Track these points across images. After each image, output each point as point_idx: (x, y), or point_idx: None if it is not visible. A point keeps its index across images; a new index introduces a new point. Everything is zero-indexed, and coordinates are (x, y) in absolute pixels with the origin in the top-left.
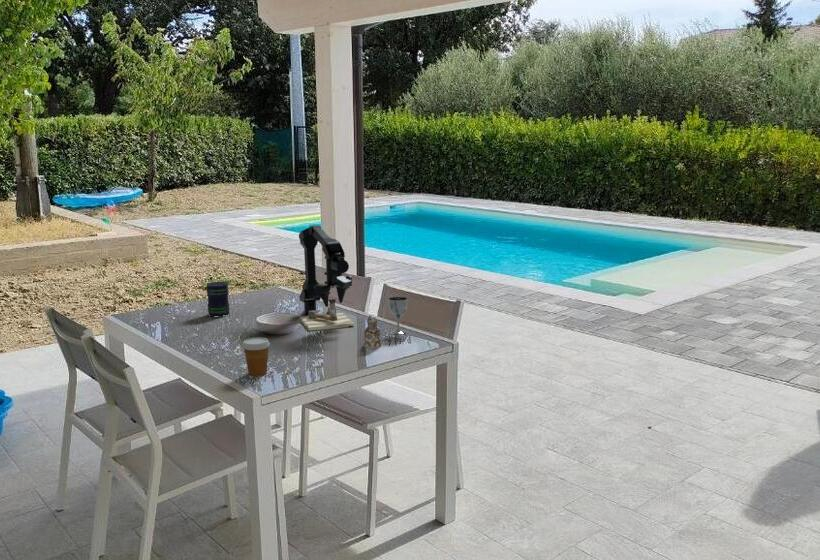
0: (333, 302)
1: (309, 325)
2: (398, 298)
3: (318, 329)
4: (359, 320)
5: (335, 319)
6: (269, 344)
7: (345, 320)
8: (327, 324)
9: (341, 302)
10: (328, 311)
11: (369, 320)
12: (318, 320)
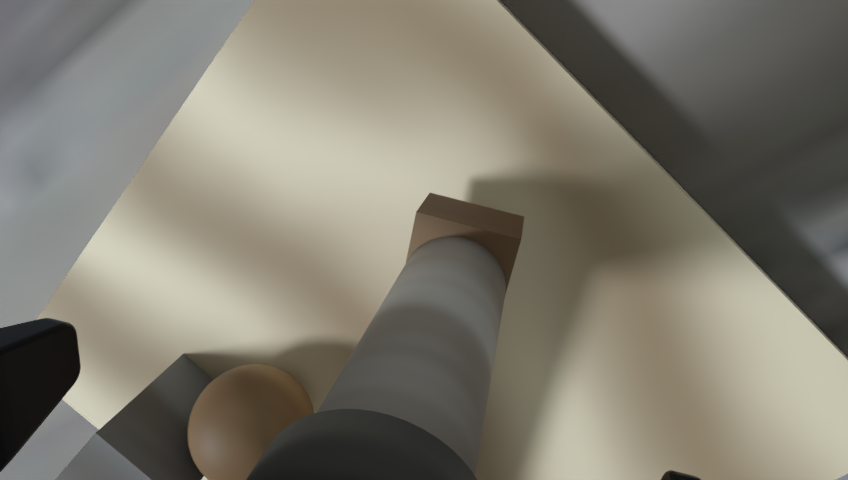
0: (441, 445)
1: (789, 473)
2: None
3: (796, 305)
4: (52, 25)
5: (465, 210)
6: None
7: (279, 119)
8: (632, 257)
9: (63, 325)
10: None
11: None
12: None
